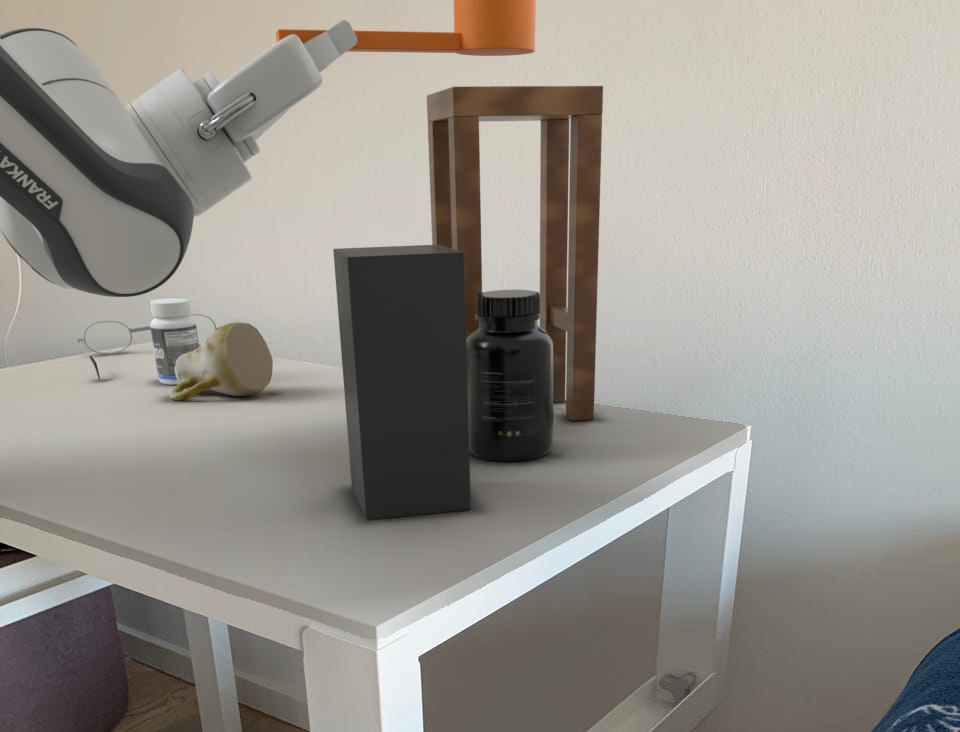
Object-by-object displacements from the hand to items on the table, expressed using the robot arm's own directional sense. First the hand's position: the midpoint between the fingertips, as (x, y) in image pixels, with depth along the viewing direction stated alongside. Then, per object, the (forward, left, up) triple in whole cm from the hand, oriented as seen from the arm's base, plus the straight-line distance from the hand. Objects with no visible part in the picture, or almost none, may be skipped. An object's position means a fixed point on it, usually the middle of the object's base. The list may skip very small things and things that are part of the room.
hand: (348, 33), depth 76 cm
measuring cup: (+5, 0, -1) cm, 5 cm away
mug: (-13, +18, -30) cm, 37 cm away
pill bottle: (-17, +27, -30) cm, 44 cm away
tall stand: (+13, 0, -30) cm, 33 cm away
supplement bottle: (+9, -13, -30) cm, 34 cm away
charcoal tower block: (-1, -23, -30) cm, 38 cm away
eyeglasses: (-19, +41, -30) cm, 54 cm away
